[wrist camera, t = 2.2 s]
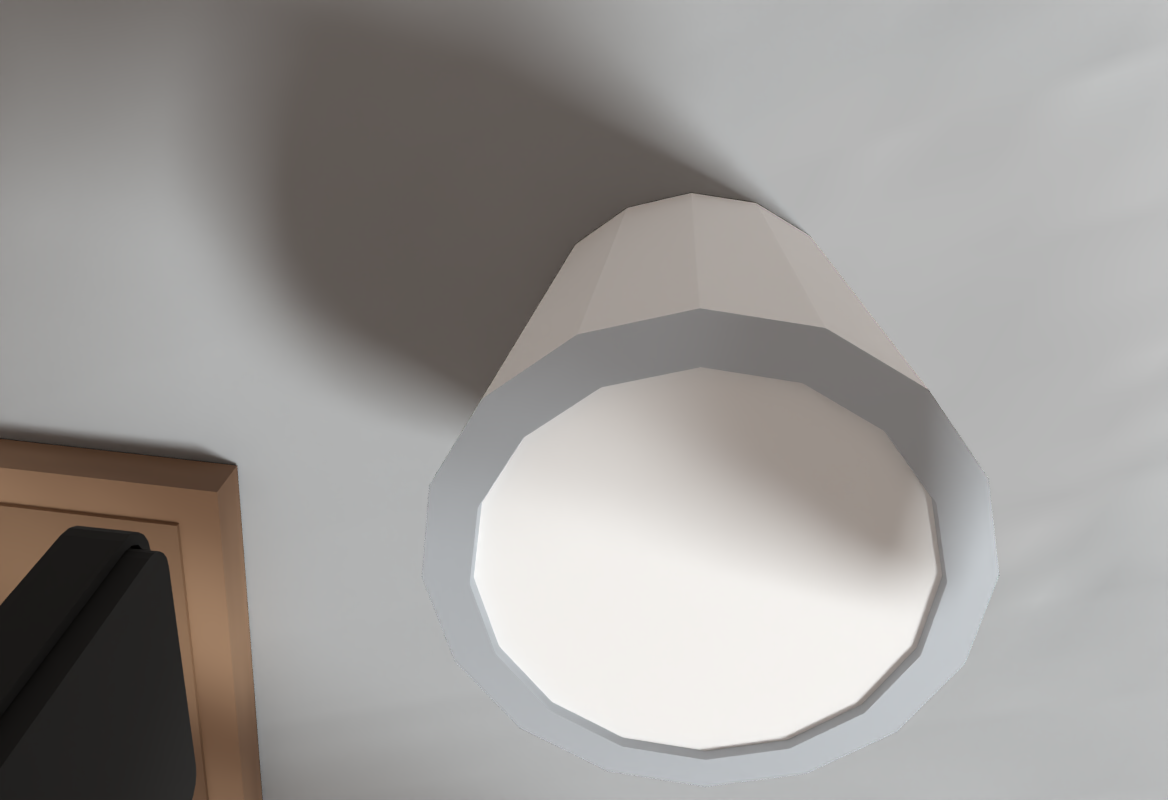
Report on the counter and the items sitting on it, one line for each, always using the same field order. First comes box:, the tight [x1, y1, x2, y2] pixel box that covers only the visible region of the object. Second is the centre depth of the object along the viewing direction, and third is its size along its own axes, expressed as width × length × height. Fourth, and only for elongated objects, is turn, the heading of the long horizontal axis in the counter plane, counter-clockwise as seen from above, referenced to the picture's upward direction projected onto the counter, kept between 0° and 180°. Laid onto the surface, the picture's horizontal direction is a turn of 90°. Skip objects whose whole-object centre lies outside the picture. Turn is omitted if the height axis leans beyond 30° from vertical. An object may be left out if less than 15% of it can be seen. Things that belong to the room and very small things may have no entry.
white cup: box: [422, 193, 999, 787], centre depth 16 cm, size 7×7×7 cm
